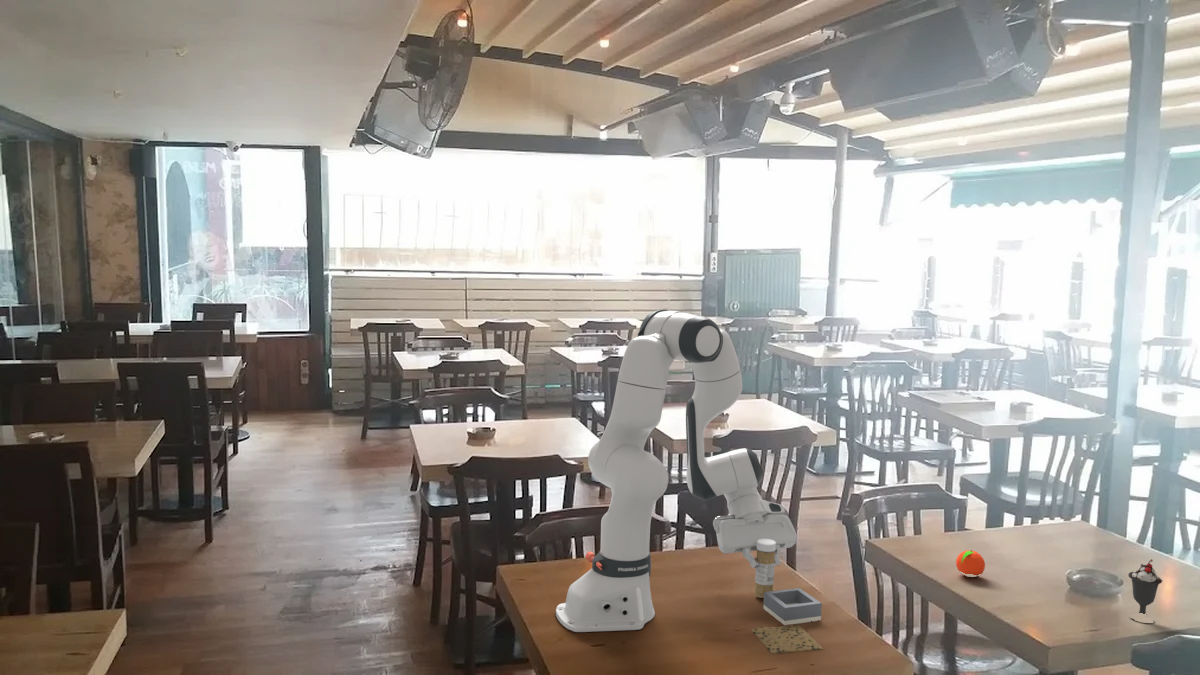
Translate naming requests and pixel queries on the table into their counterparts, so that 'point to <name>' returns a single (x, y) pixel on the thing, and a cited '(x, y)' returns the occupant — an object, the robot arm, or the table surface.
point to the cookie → (786, 639)
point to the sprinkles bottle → (765, 566)
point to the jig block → (792, 606)
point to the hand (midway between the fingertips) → (766, 565)
